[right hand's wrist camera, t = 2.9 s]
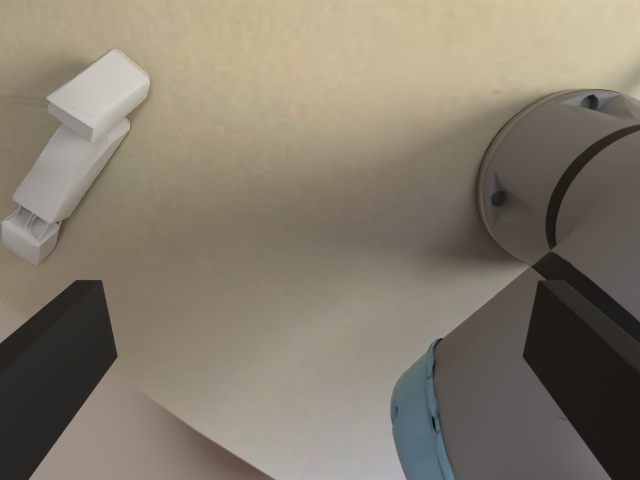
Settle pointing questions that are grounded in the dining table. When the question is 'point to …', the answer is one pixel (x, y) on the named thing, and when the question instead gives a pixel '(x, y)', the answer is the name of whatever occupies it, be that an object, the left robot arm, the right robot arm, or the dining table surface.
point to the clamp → (74, 151)
